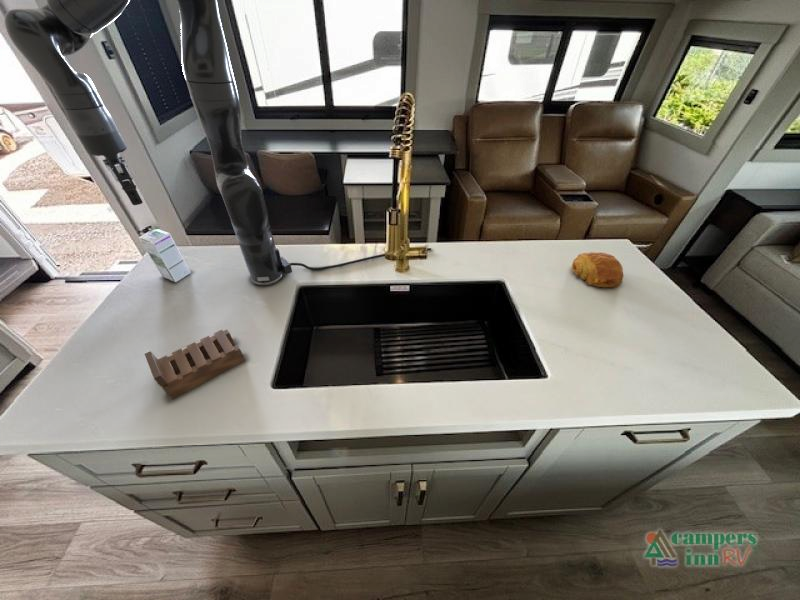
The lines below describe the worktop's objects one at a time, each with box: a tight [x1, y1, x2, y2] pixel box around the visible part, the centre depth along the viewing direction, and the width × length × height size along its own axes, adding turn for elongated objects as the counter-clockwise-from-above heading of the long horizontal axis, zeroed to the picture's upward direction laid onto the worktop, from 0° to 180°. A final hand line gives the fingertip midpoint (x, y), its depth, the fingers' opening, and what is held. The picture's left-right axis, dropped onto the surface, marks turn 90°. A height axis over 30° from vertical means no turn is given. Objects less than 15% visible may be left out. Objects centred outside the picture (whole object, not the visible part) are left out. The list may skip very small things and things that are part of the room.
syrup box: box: [138, 228, 191, 283], centre depth 95 cm, size 6×6×14 cm
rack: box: [144, 328, 246, 400], centre depth 73 cm, size 16×8×8 cm, turn 132°
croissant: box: [571, 251, 624, 288], centre depth 104 cm, size 14×16×8 cm
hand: (134, 198), depth 83 cm, fingers open, 8 cm apart
